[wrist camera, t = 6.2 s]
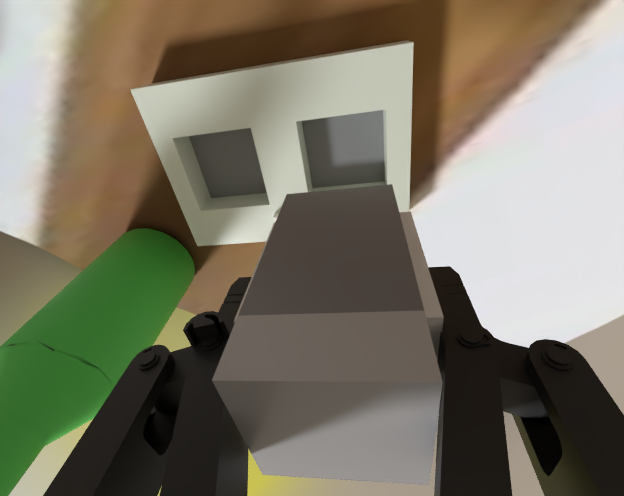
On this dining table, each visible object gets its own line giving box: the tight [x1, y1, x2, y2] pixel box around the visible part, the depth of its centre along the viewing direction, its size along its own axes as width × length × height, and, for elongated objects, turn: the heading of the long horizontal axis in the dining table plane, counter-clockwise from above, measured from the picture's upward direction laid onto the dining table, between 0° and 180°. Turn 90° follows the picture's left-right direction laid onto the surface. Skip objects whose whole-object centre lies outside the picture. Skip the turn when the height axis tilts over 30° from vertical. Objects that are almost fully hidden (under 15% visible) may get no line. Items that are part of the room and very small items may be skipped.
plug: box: [212, 184, 443, 485], centre depth 12 cm, size 5×5×10 cm
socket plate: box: [131, 40, 414, 246], centre depth 26 cm, size 14×20×4 cm
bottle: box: [0, 228, 195, 496], centre depth 26 cm, size 9×9×25 cm
